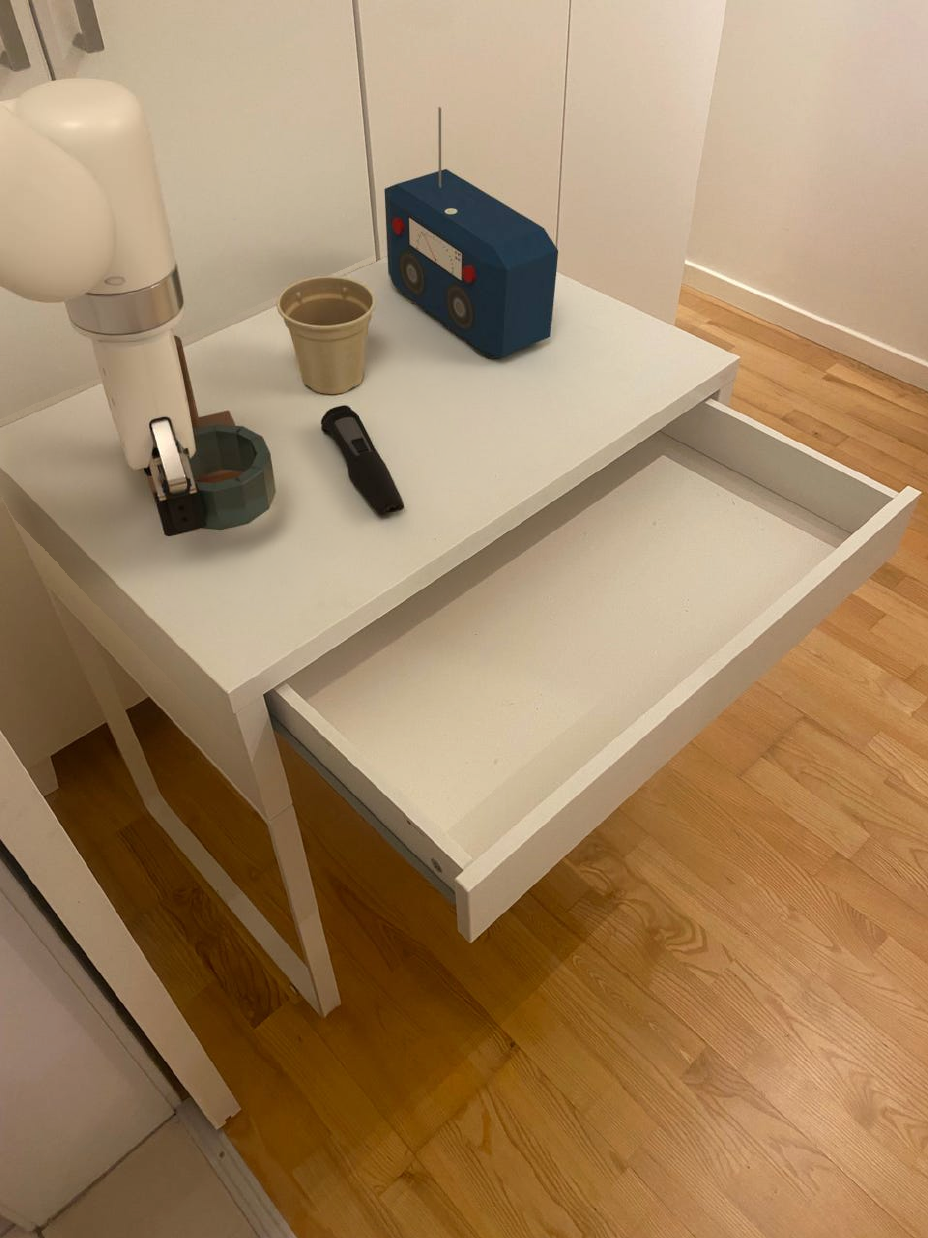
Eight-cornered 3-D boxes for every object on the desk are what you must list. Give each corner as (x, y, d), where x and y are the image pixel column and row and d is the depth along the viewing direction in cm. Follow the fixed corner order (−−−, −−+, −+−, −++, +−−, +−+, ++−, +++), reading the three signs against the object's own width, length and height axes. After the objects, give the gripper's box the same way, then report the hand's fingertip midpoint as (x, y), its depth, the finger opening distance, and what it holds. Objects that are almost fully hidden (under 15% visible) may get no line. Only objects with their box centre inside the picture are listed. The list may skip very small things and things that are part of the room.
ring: (181, 540, 74) (171, 501, 71) (159, 476, 79) (149, 437, 76) (286, 514, 77) (281, 475, 74) (258, 454, 82) (252, 415, 79)
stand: (156, 504, 84) (120, 383, 75) (136, 444, 90) (101, 325, 80) (256, 479, 87) (233, 359, 77) (231, 422, 92) (207, 304, 83)
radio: (378, 286, 110) (368, 99, 95) (440, 264, 113) (440, 81, 98) (490, 372, 99) (499, 176, 84) (555, 345, 102) (574, 152, 87)
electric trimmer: (373, 533, 83) (371, 506, 80) (318, 429, 92) (315, 401, 89) (413, 522, 84) (413, 495, 81) (355, 420, 93) (353, 392, 90)
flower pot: (362, 344, 102) (356, 267, 95) (393, 392, 96) (390, 314, 90) (276, 362, 99) (264, 285, 93) (303, 413, 93) (292, 335, 87)
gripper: (47, 243, 68) (108, 447, 81) (84, 373, 57) (148, 583, 70) (154, 227, 70) (197, 428, 83) (210, 348, 59) (249, 557, 72)
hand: (174, 498), depth 76 cm, fingers closed on ring, 7 cm apart
